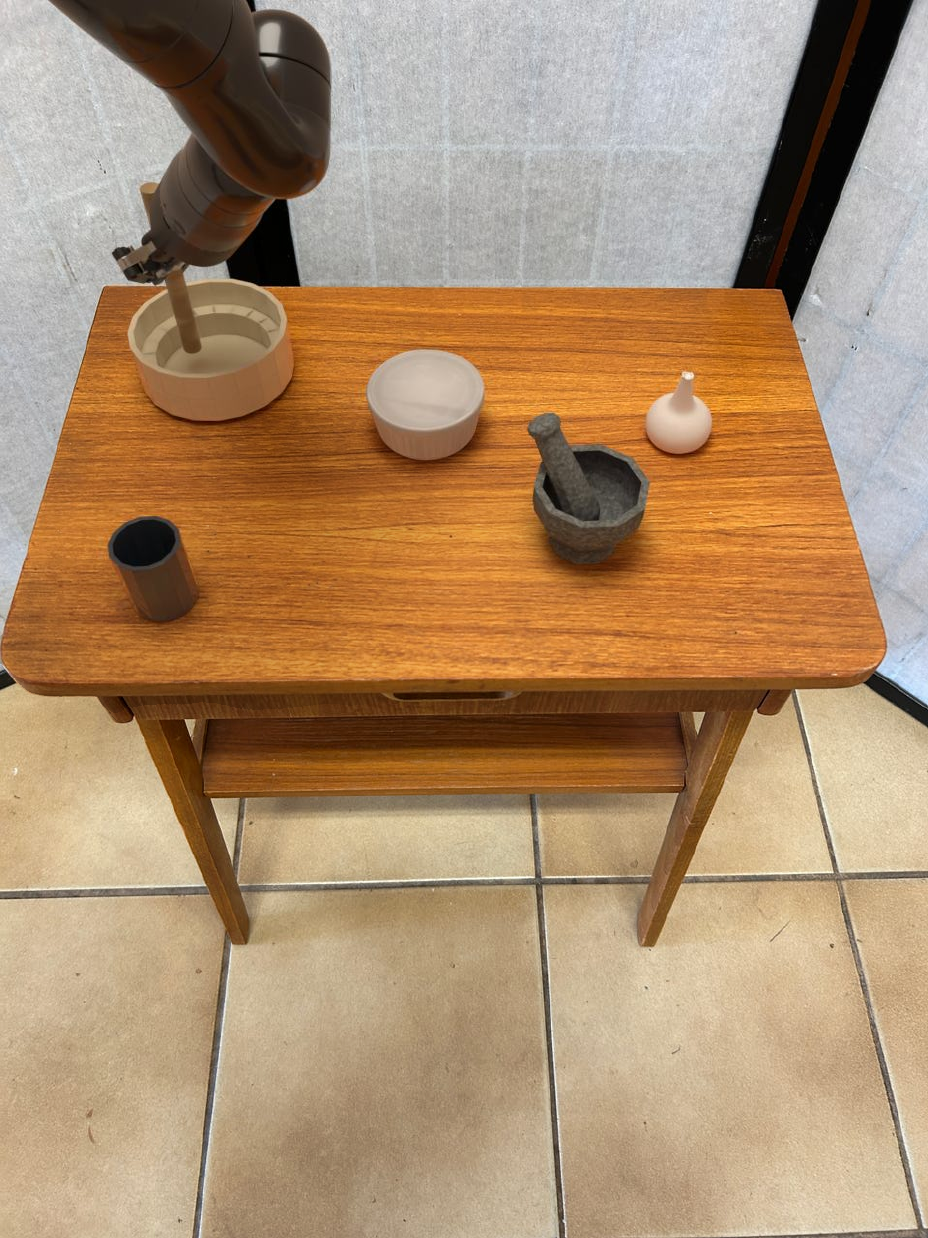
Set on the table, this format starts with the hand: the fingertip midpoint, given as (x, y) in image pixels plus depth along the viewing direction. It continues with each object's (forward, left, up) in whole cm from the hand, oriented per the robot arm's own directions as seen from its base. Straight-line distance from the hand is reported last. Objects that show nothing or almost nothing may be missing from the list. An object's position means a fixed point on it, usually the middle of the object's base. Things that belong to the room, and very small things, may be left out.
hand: (162, 269), depth 90 cm
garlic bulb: (+44, -25, -11) cm, 52 cm away
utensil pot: (-6, -30, -11) cm, 33 cm away
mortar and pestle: (+30, -34, -11) cm, 47 cm away
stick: (+1, -2, -8) cm, 8 cm away
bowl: (+3, -3, -11) cm, 11 cm away
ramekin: (+21, -17, -11) cm, 29 cm away
